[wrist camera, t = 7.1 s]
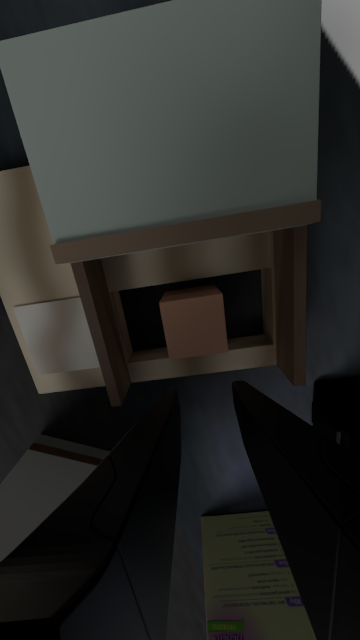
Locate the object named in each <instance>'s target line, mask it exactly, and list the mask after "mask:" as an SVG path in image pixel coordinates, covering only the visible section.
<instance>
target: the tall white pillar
mask: <svg viewBox="0 0 360 640" xmlns="http://www.w3.org/2000/svg"><path fill="white" fill-rule="evenodd" d="M110 452H111V451H107V450H103V449H99V448H95V447H91V446H87V445H83V444H78V443H74V442H70V441H66V440H62V439H58V438H54V437H50V436H46V435H42V434H40V435H39V437H38V438H37V439H36V440H35V442H34V443H33V444H32V445H31V447H30V448H29V449H28V450H27V452H26V453H25V454H24V455H23V457H22V458H21V459H20V460H19V461H18V463H17V464H16V465H15V466H14V468H13V469H12V470H11V471H10V473H9V474H8V475H7V476H6V478H5V479H4V480H3V481H2V483H1V484H0V561H2V560H3V559H4V558H5V557H6V556H7V555H9V554H10V553H11V552H12V551H13V550H14V549H15V548H16V547H17V546H18V545H19V544H20V543H21V542H22V541H23V540H24V539H25V538H26V537H27V536H28V535H29V534H30V533H31V532H33V531H34V530H35V529H36V528H37V527H38V526H39V525H40V524H41V523H42V522H43V521H44V520H45V519H46V518H47V517H48V516H49V515H50V514H51V513H52V512H53V511H54V510H55V509H56V508H57V507H58V506H59V505H60V504H61V503H62V502H63V501H64V500H65V499H66V498H67V497H68V496H69V495H70V494H71V493H72V492H73V491H74V490H75V489H76V488H77V487H78V486H79V485H80V484H81V483H82V482H83V481H84V480H85V479H86V478H87V477H88V476H89V475H90V474H91V473H92V472H93V470H94V469H95V468H96V467H97V466H98V465H99V464H100V463H101V462H102V461H103V459H104V458H105V457H106V456H107V455H109V453H110Z"/></svg>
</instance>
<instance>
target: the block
mask: <svg viewBox="0 0 360 640" xmlns="http://www.w3.org/2000/svg"><path fill="white" fill-rule="evenodd" d="M159 306H160V311H161V317H162V322H163V328H164V333H165V338H166V344H167V349H168V355H169V360H172V359H180V358H188V357H196V356H204V355H211V354H219V353H227V352H228V344H227V333H226V323H225V313H224V303H223V294H222V292H221V291H220V290H219V289H218V288H217V287H216V286H215V285H214V284H212V285H205V286H199V287H192V288H185V289H179V290H172V291H165V293H164V295H163V296H162V298H161V300H160V302H159Z"/></svg>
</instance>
